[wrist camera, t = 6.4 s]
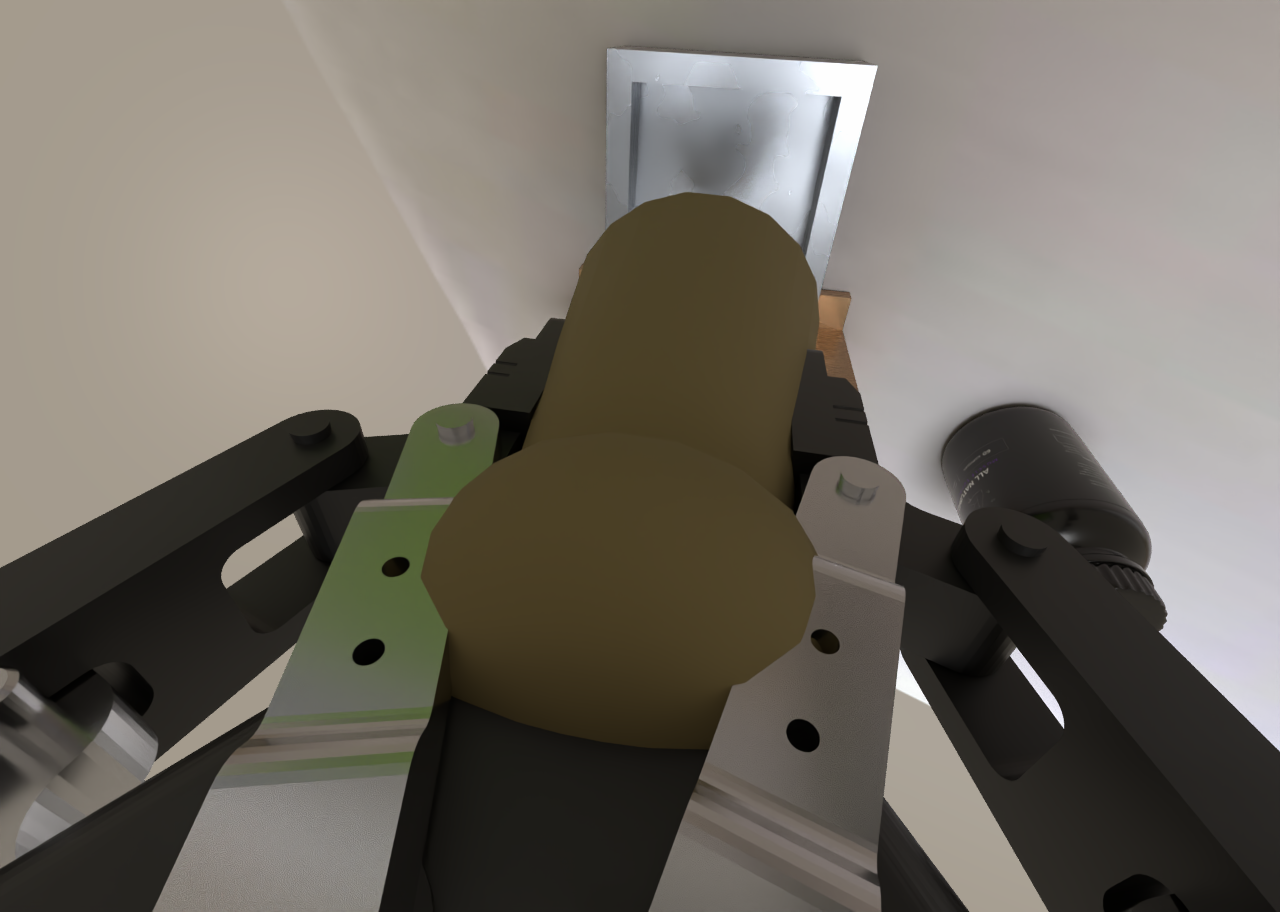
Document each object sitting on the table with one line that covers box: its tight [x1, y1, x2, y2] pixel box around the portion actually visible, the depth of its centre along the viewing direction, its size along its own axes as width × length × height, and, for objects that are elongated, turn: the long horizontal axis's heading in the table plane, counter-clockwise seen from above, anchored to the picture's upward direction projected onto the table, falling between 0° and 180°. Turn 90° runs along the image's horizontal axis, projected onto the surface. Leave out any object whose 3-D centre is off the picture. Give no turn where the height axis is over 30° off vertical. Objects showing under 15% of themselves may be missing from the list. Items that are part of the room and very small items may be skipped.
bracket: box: [579, 46, 877, 391], centre depth 23 cm, size 15×14×14 cm
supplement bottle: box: [942, 407, 1167, 631], centre depth 28 cm, size 7×7×12 cm
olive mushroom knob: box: [420, 192, 823, 750], centre depth 10 cm, size 6×6×11 cm
